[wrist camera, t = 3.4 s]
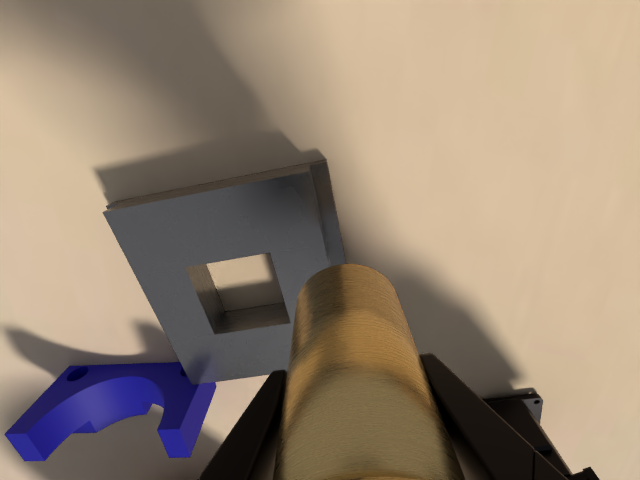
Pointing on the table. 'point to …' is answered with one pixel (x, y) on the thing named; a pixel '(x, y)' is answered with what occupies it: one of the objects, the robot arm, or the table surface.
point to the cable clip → (113, 406)
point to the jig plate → (224, 244)
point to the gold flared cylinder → (358, 388)
